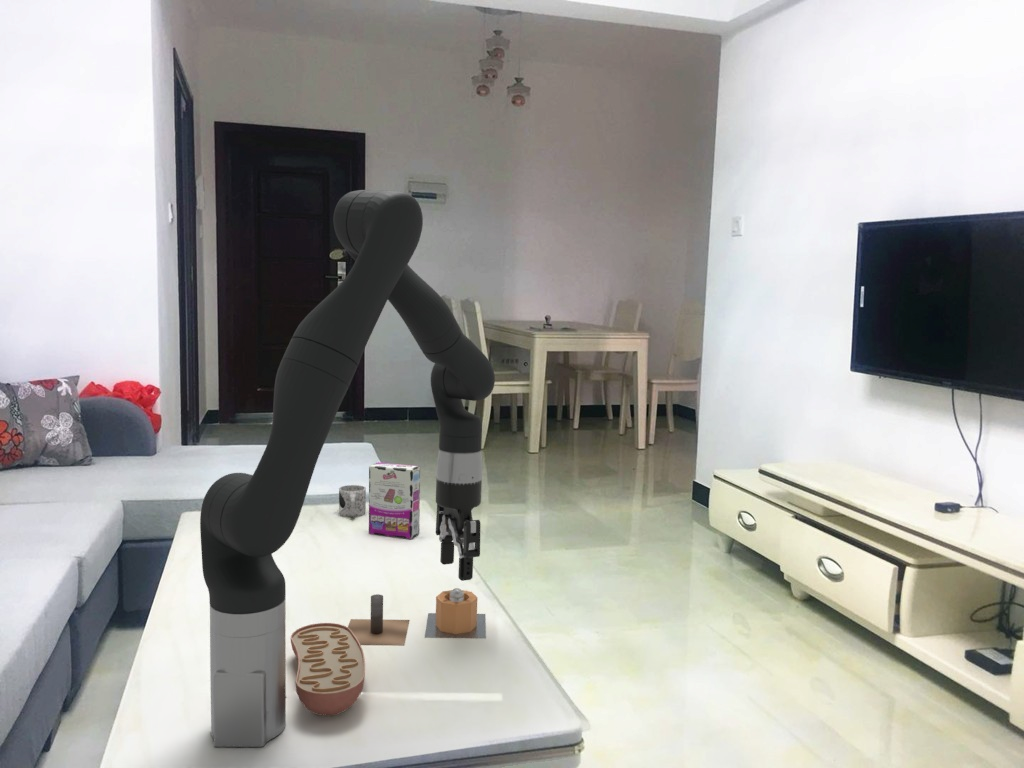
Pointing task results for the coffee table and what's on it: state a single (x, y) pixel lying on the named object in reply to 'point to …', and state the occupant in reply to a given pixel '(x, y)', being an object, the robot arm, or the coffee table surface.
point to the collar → (456, 613)
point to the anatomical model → (328, 667)
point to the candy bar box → (394, 500)
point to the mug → (352, 501)
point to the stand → (379, 627)
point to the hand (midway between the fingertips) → (455, 571)
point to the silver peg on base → (434, 632)
